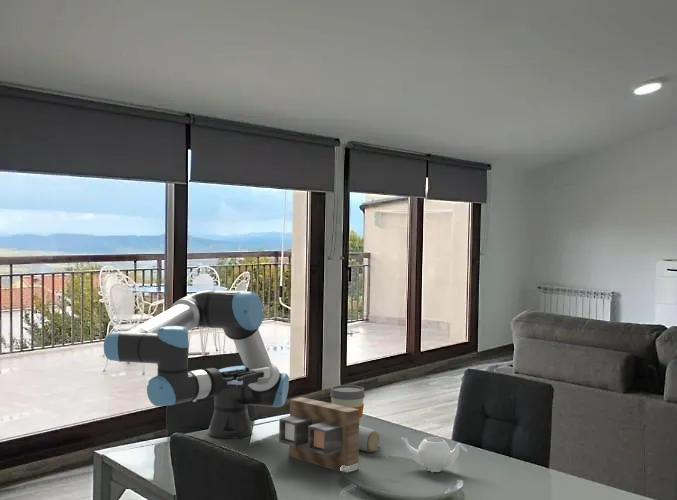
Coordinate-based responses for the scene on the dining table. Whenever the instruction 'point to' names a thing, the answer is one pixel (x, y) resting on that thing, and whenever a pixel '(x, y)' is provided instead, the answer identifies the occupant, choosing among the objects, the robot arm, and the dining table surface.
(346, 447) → the key panel
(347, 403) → the reusable coffee cup
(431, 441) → the teapot
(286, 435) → the white key
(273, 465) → the dining table surface
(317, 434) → the terracotta key
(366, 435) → the grey canister
